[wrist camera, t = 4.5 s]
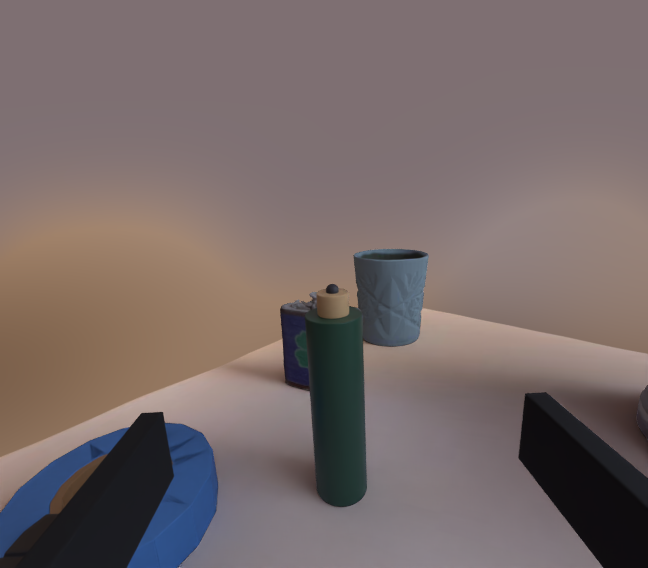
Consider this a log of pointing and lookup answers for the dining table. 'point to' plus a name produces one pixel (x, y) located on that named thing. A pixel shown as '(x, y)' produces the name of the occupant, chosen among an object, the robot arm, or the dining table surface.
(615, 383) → the dining table surface
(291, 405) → the dining table surface
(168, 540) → the tape roll
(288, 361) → the flask
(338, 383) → the green cylinder
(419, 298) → the grey faceted cup
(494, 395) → the dining table surface
